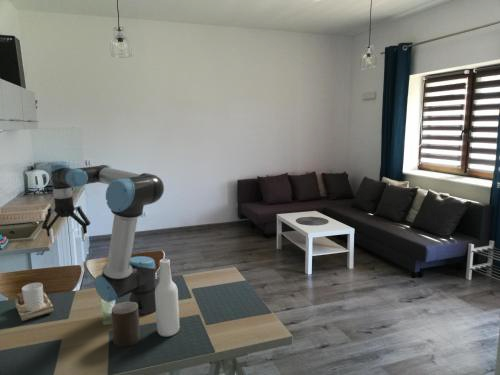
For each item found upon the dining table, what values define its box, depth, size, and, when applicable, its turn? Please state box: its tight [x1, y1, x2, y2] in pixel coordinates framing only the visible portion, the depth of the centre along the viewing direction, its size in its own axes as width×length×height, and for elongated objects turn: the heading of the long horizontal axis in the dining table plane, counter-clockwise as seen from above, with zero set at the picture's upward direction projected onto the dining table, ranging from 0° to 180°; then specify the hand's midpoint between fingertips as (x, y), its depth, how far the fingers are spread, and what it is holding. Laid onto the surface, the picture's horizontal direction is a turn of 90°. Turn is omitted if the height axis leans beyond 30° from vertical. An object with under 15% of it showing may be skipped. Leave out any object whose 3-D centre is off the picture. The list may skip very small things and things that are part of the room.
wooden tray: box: [14, 291, 55, 322], centre depth 162 cm, size 18×12×4 cm, turn 40°
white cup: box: [21, 282, 44, 311], centre depth 159 cm, size 8×8×10 cm
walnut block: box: [16, 292, 25, 305], centre depth 164 cm, size 4×4×4 cm
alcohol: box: [155, 258, 181, 337], centre depth 143 cm, size 9×9×30 cm
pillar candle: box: [111, 301, 141, 348], centre depth 139 cm, size 10×10×15 cm
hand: (68, 241), depth 169 cm, fingers open, 13 cm apart
